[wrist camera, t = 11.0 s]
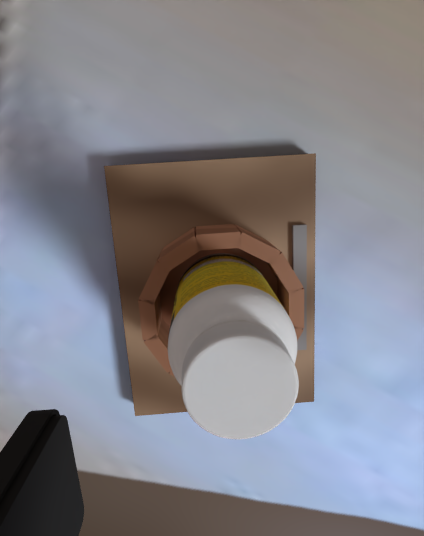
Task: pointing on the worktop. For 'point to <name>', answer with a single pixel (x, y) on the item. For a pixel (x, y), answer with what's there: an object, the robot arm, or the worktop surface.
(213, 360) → the supplement bottle
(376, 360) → the worktop surface
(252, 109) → the worktop surface
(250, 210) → the cup station
